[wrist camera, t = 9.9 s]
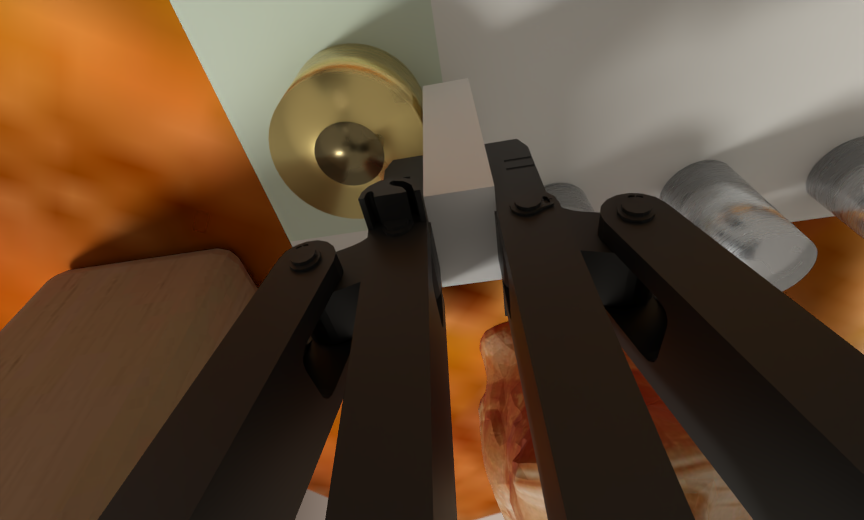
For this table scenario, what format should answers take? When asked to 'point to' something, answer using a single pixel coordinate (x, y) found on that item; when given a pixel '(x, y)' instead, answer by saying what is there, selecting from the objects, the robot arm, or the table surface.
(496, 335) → the ceramic vessel
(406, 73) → the brass round knob
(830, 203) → the spacers
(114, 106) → the table surface
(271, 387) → the robot arm
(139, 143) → the table surface
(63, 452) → the wooden block
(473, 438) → the table surface
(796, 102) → the board
